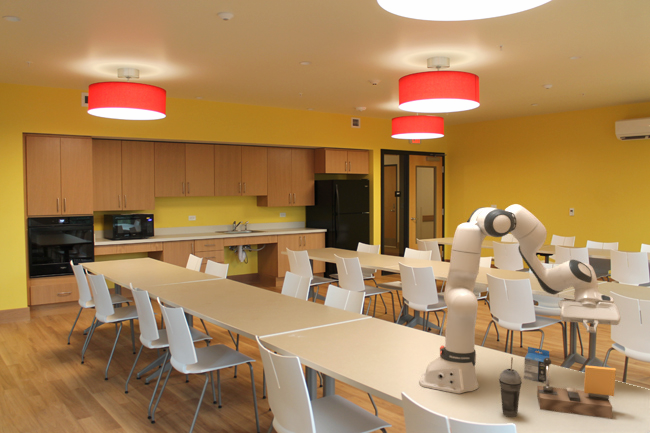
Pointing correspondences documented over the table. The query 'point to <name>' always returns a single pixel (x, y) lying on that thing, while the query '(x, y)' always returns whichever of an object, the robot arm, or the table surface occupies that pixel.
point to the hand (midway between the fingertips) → (591, 331)
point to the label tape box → (535, 364)
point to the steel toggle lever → (547, 376)
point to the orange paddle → (599, 381)
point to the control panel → (573, 402)
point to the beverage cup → (510, 391)
